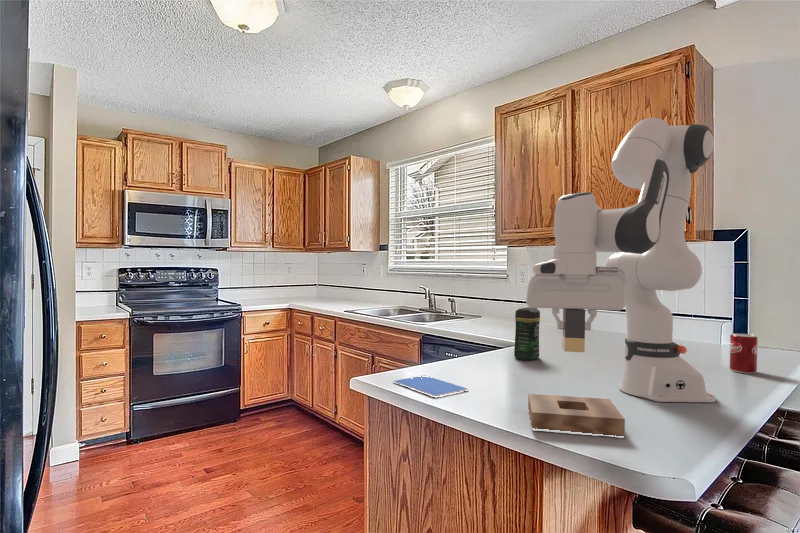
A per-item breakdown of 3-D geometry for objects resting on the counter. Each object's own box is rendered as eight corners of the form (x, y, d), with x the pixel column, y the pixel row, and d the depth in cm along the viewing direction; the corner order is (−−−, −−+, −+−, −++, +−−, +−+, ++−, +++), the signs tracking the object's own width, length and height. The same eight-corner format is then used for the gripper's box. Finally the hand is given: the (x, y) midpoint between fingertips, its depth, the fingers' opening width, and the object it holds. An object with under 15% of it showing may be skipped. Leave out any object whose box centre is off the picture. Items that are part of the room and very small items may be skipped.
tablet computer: (391, 384, 138) (391, 380, 138) (424, 378, 145) (425, 374, 145) (434, 401, 122) (434, 396, 122) (470, 393, 129) (470, 388, 129)
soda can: (732, 373, 153) (733, 335, 153) (726, 368, 160) (727, 332, 160) (760, 375, 150) (760, 337, 150) (752, 370, 157) (753, 334, 157)
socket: (609, 416, 109) (609, 399, 109) (624, 438, 96) (624, 419, 96) (528, 410, 113) (528, 393, 113) (531, 431, 99) (532, 412, 99)
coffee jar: (532, 362, 167) (533, 309, 167) (511, 358, 172) (511, 307, 171) (542, 357, 175) (543, 307, 174) (522, 354, 179) (522, 305, 179)
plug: (581, 349, 106) (582, 295, 106) (584, 352, 102) (585, 296, 102) (562, 348, 107) (563, 294, 106) (564, 351, 103) (565, 295, 102)
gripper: (622, 266, 105) (620, 329, 105) (526, 265, 109) (525, 325, 109) (629, 267, 99) (628, 333, 99) (527, 266, 103) (526, 329, 103)
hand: (573, 329), depth 104 cm, fingers closed on plug, 4 cm apart
